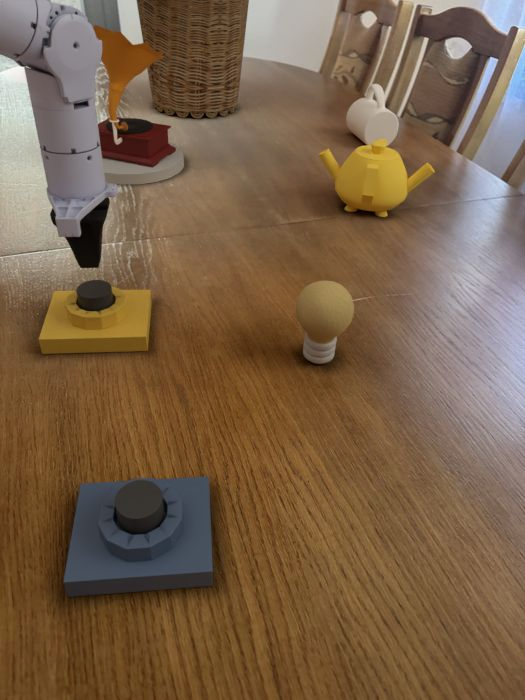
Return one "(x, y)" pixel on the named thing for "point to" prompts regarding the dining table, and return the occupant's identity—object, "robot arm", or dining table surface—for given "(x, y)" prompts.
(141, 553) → the block
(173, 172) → the gramophone
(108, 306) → the button
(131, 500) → the button
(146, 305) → the block
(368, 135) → the mug
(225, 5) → the wicker basket
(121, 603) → the dining table surface
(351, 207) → the teapot
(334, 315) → the light bulb
